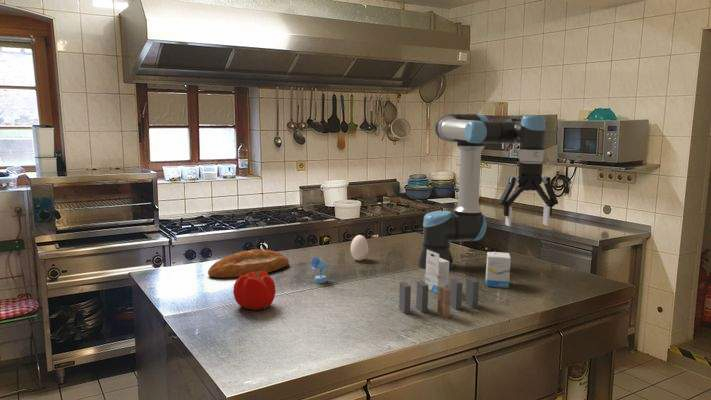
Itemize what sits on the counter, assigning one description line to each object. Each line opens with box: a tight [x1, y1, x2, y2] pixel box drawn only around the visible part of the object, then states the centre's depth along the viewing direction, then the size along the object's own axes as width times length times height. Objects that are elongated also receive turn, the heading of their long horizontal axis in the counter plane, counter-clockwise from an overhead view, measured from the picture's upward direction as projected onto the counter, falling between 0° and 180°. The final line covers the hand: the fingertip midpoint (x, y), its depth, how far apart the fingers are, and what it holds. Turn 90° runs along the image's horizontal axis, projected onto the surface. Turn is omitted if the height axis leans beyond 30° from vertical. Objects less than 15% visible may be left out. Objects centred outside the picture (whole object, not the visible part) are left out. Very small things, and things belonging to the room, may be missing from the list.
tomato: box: [232, 271, 276, 311], centre depth 171 cm, size 13×14×12 cm
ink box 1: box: [424, 249, 450, 295], centre depth 191 cm, size 8×5×15 cm, turn 26°
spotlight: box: [309, 256, 329, 284], centre depth 200 cm, size 5×10×7 cm
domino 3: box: [449, 278, 463, 311], centre depth 174 cm, size 5×2×9 cm, turn 15°
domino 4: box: [465, 277, 480, 309], centre depth 176 cm, size 5×2×9 cm, turn 15°
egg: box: [350, 234, 369, 261], centre depth 231 cm, size 8×8×11 cm
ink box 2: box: [485, 251, 512, 289], centre depth 200 cm, size 9×8×12 cm
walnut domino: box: [436, 285, 451, 319], centre depth 167 cm, size 5×2×9 cm, turn 15°
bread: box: [207, 248, 290, 279], centre depth 212 cm, size 18×35×9 cm, turn 126°
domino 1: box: [398, 281, 412, 315], centre depth 170 cm, size 5×2×9 cm, turn 15°
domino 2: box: [415, 280, 429, 313], centre depth 171 cm, size 5×2×9 cm, turn 15°
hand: (526, 225), depth 176 cm, fingers open, 13 cm apart
